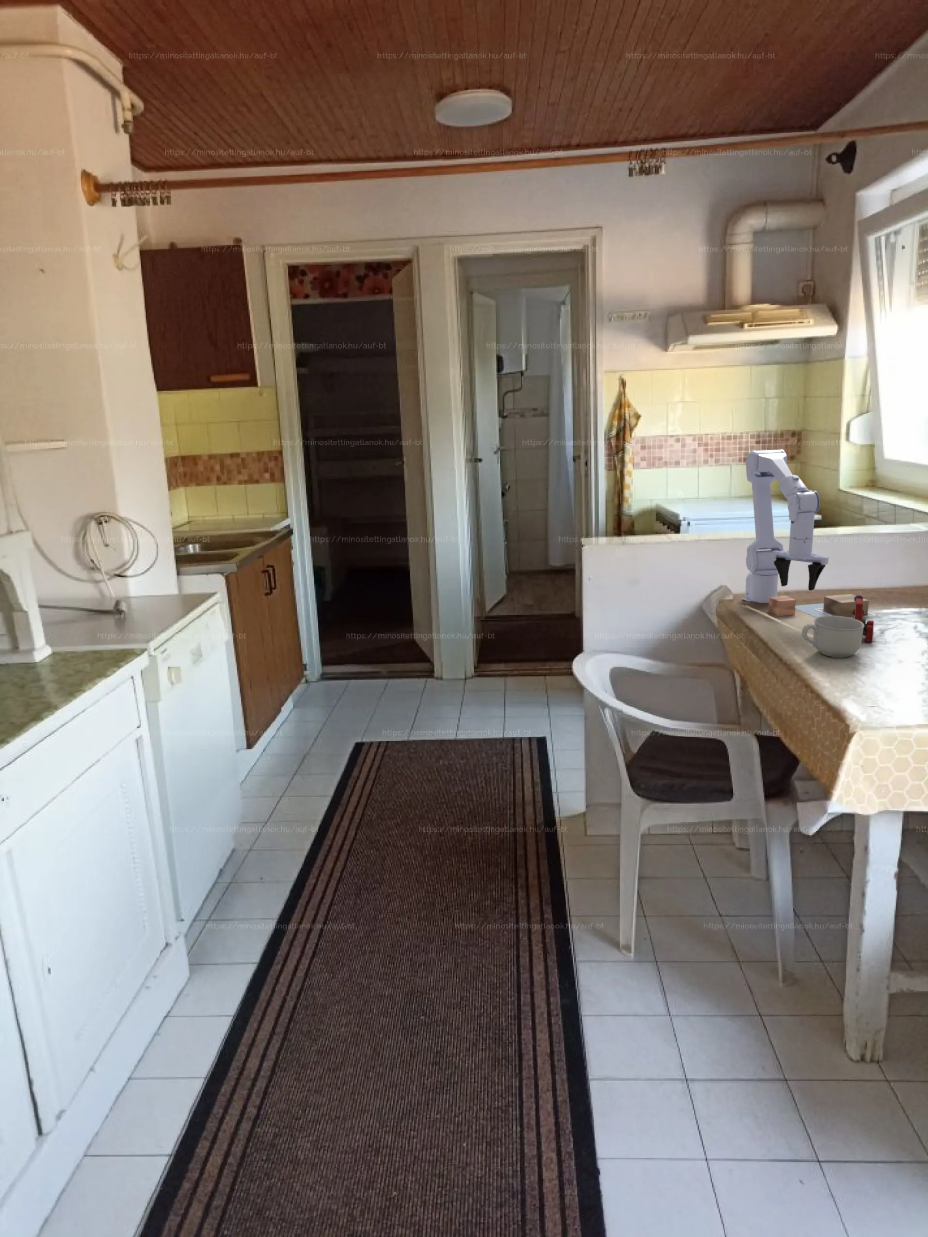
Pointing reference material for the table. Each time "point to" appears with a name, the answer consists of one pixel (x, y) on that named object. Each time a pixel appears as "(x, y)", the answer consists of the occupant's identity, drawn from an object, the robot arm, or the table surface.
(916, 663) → the table surface
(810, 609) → the board
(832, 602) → the walnut slab
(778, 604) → the terracotta cube
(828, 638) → the teacup
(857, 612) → the toy fire truck
